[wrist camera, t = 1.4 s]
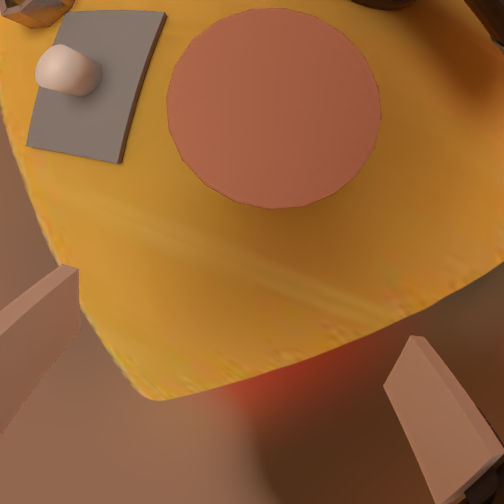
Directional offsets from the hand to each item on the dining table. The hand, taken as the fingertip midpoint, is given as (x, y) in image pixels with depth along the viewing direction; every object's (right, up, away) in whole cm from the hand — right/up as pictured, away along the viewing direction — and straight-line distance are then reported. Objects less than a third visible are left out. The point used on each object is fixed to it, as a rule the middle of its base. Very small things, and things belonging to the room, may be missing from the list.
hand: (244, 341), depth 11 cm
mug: (-27, +37, +12) cm, 47 cm away
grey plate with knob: (-18, +23, +17) cm, 34 cm away
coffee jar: (+1, +16, +20) cm, 25 cm away
